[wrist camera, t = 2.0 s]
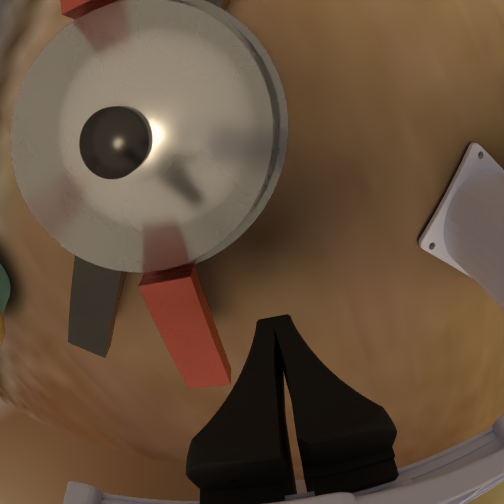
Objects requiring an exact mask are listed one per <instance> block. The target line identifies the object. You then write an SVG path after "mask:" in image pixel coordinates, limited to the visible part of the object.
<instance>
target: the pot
mask: <svg viewBox="0 0 504 504" xmlns="http://www.w3.org/2000/svg"><path fill="white" fill-rule="evenodd" d="M121 1H126V0H118V1H116V2H113V3H117V2H121ZM169 1H174V2H178V3H182V4H186V5H188V6H191V7H193V8H196V9H198V10H201V11H203V12H205V13H206V14H208V15H210V16H211V17H213V18H215V19H217V20H218V21H219V22H221V23H222V24H223V25H224V26H226V27H227V28H228V29H229V30H230V31H232V32H233V33H234V34H235V35H236V36H237V38H238V39H239V40H240V41H241V42H242V43H243V44H244V45H245V47H246V48H247V49H248V51H249V52H250V54H251V56H252V57H253V59H254V60H255V62H256V63H257V65H258V67H259V70H260V72H261V74H262V76H263V79H264V81H265V83H266V87H267V91H268V94H269V98H270V102H271V109H272V117H273V145H272V151H271V158H270V163H269V167H268V170H267V173H266V177H265V180H264V183H263V185H262V187H261V189H260V192H259V194H258V196H257V198H256V200H255V202H254V203H253V205H252V207H251V208H250V210H249V211H248V213H247V215H246V216H245V217H244V218H243V220H242V221H241V222H240V223H239V225H238V226H237V227H236V228H235V229H234V230H233V231H232V232H231V233H230V234H229V235H228V236H227V237H226V238H225V239H224V240H223V241H222V242H220V243H219V244H218V245H216V246H215V247H214V248H212V249H211V250H210V251H208V252H206V253H205V254H203V255H201V256H199V257H197V258H196V259H194V260H192V261H189V262H187V263H184V264H190V263H194V264H197V263H199V262H201V261H203V260H206V259H208V258H210V257H212V256H213V255H215V254H217V253H218V252H220V251H222V250H223V249H225V248H226V247H228V246H229V245H230V244H231V243H233V242H234V241H235V240H236V239H238V238H239V237H240V236H241V235H242V234H243V233H244V232H245V231H246V230H247V229H248V228H249V227H250V226H251V225H252V224H253V222H254V221H255V220H256V218H257V217H258V216H259V214H260V213H261V212H262V210H263V209H264V207H265V206H266V204H267V202H268V200H269V199H270V197H271V195H272V193H273V192H274V189H275V187H276V184H277V182H278V179H279V177H280V174H281V171H282V167H283V163H284V160H285V156H286V150H287V141H288V110H287V104H286V98H285V93H284V89H283V86H282V83H281V80H280V77H279V74H278V72H277V70H276V68H275V66H274V64H273V62H272V60H271V58H270V56H269V54H268V53H267V51H266V50H265V48H264V47H263V45H262V44H261V43H260V41H259V40H258V39H257V37H256V36H255V35H254V34H253V33H252V32H251V31H250V30H249V29H248V28H247V27H246V26H245V25H244V24H243V23H242V22H240V21H239V20H238V19H236V18H235V17H234V16H232V15H231V14H230V13H228V12H227V11H225V9H226V7H227V5H228V3H229V2H230V0H169ZM113 3H111V4H113ZM108 5H109V4H108ZM76 20H77V19H76ZM74 21H75V19H74V20H73V21H72V22H74ZM72 22H70V23H69V24H68V25H70V24H71V23H72ZM68 25H67V26H68ZM67 26H65V27H64V28H66V27H67ZM64 28H63V29H64ZM63 29H62V30H63ZM62 30H61V31H62ZM61 31H60V32H61ZM184 264H182V265H184ZM136 273H145V272H136ZM125 274H126V271H118V270H112V269H108V268H104V267H101V266H98V265H95V264H93V263H90V262H88V261H85V260H83V259H81V258H80V257H78V256H76V255H75V261H74V269H73V278H72V288H71V299H70V313H69V333H68V342H69V343H71V344H73V345H76V346H78V347H80V348H83V349H85V350H87V351H90V352H92V353H95V354H97V355H100V356H102V357H106V355H107V352H108V350H109V348H110V345H111V340H112V335H113V329H114V324H115V319H116V314H117V309H118V304H119V300H120V295H121V291H122V286H123V282H124V278H125Z"/></svg>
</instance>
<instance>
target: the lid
mask: <svg viewBox="0 0 504 504" xmlns="http://www.w3.org/2000/svg"><path fill="white" fill-rule="evenodd" d="M116 1H118V0H61V10H62V15H65V16H67V17H70V18H73V19H75V21H74V22H72V23H71V24H70V25H68V26H67V27H66V28H64V29H63V30H62V31H61V32H59V33H58V34H57V35H56V36H55V37H54V38H53V39H52V40H51V41H50V42H49V43H48V44H47V45H46V47H45V48H44V49H43V50H42V51H41V53H40V54H39V55H38V57H37V58H36V60H35V61H34V63H33V64H32V66H31V67H30V69H29V71H28V73H27V75H26V77H25V79H24V81H23V83H22V85H21V88H20V91H19V93H18V96H17V99H16V103H15V107H14V112H13V117H12V124H11V156H12V163H13V169H14V173H15V177H16V180H17V184H18V186H19V189H20V191H21V194H22V196H23V198H24V200H25V202H26V204H27V206H28V208H29V210H30V211H31V213H32V214H33V216H34V217H35V219H36V220H37V222H38V223H39V224H40V225H41V227H42V228H43V229H44V230H45V231H46V232H47V233H48V234H49V235H50V236H51V237H52V238H53V239H54V240H55V241H56V242H57V243H58V244H60V245H61V246H62V247H64V248H65V249H67V250H68V251H69V252H71V253H72V254H74V255H76V256H78V257H80V258H81V259H83V260H85V261H88V262H90V263H93V264H95V265H98V266H101V267H104V268H108V269H112V270H118V271H126V272H145V274H144V276H143V278H142V280H141V282H140V284H139V289H140V291H141V293H142V296H143V298H144V300H145V302H146V305H147V307H148V309H149V311H150V313H151V315H152V318H153V320H154V322H155V324H156V326H157V328H158V330H159V332H160V334H161V336H162V338H163V341H164V343H165V345H166V347H167V349H168V351H169V352H170V354H171V356H172V358H173V360H174V362H175V364H176V366H177V368H178V370H179V372H180V374H181V375H182V377H183V379H184V381H185V383H186V385H187V386H188V388H189V389H191V388H202V387H212V386H221V385H229V384H231V367H230V364H229V362H228V359H227V356H226V354H225V351H224V348H223V345H222V343H221V340H220V337H219V334H218V331H217V329H216V326H215V323H214V320H213V317H212V314H211V312H210V309H209V306H208V303H207V300H206V297H205V294H204V291H203V288H202V285H201V282H200V279H199V276H198V273H197V270H196V267H195V264H194V263H190V264H184V263H187V262H189V261H192V260H194V259H196V258H197V257H199V256H201V255H203V254H205V253H206V252H208V251H210V250H211V249H212V248H214V247H215V246H216V245H218V244H219V243H220V242H222V241H223V240H224V239H225V238H226V237H227V236H228V235H229V234H230V233H231V232H232V231H233V230H234V229H235V228H236V227H237V226H238V225H239V223H240V222H241V221H242V220H243V218H244V217H245V216H246V215H247V213H248V211H249V210H250V208H251V207H252V205H253V203H254V202H255V200H256V198H257V196H258V194H259V192H260V189H261V187H262V185H263V183H264V180H265V177H266V173H267V170H268V167H269V163H270V158H271V151H272V145H273V117H272V109H271V102H270V98H269V94H268V91H267V87H266V83H265V81H264V79H263V76H262V74H261V72H260V70H259V67H258V65H257V63H256V62H255V60H254V59H253V57H252V56H251V54H250V52H249V51H248V49H247V48H246V47H245V45H244V44H243V43H242V42H241V41H240V40H239V39H238V38H237V36H236V35H235V34H234V33H233V32H232V31H230V30H229V29H228V28H227V27H226V26H224V25H223V24H222V23H221V22H219V21H218V20H217V19H215V18H213V17H211V16H210V15H208V14H206V13H205V12H203V11H201V10H198V9H196V8H193V7H191V6H188V5H186V4H182V3H178V2H174V1H169V0H126V1H121V2H117V3H113V2H116ZM111 3H113V4H111ZM108 4H109V5H108ZM76 19H77V20H76ZM182 264H184V265H182Z"/></svg>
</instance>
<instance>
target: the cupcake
mask: <svg viewBox="0 0 504 504" xmlns="http://www.w3.org/2000/svg"><path fill="white" fill-rule="evenodd" d="M10 291H11V287H10V281H9V278H8V275H7V273H6V271H5V269H4V268H3V266H2V265H1V263H0V345H1V343H2V341H3V339H4V337H5V327H4V317H3V313H4V310H5V307H6V304H7V301H8V298H9V296H10Z"/></svg>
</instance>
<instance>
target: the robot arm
mask: <svg viewBox="0 0 504 504" xmlns="http://www.w3.org/2000/svg"><path fill="white" fill-rule="evenodd" d="M479 152H480V156H479V157H478V153H479ZM431 243H432V245H431V246H430V247H429V245H430V244H431ZM419 246H420V247H421V248H422V249H423V250H425V251H427V252H428V253H430V254H432V255H434V256H436V257H437V258H439V259H441V260H442V261H444V262H446V263H448V264H449V265H451V266H453V267H454V268H456V269H458V270H459V271H461V272H463V273H464V274H466V275H468V276H469V277H471V278H472V279H473V280H474V281H475V282H476V283H477V284H478V285H479V286H480V287H481V288H482V289H483V290H484V291H485V292H486V293H487V294H488V295H489V296H490V297H491V298H492V299H493V300H494V301H495V302H496V303H497V305H498V306H499V307H500V308H501V309H502V310H503V311H504V170H503V169H502V168H501V166H500V165H499V164H498V163H497V162H496V161H495V160H494V159H493V158H492V157H491V156H490V155H489V154H488V153H487V152H486V151H485V150H484V149H483V148H482V147H481V146H480V145H479V144H477V143H471V144H470V145H469V147H468V149H467V151H466V153H465V155H464V158H463V160H462V162H461V164H460V166H459V168H458V170H457V172H456V174H455V176H454V178H453V180H452V182H451V184H450V186H449V188H448V189H447V191H446V193H445V195H444V197H443V199H442V201H441V202H440V204H439V206H438V208H437V210H436V211H435V213H434V215H433V217H432V219H431V220H430V222H429V224H428V225H427V227H426V229H425V231H424V232H423V234H422V236H421V237H420V239H419ZM283 371H284V375H285V379H286V382H287V386H288V390H289V393H290V397H291V401H292V408H293V414H294V421H295V428H296V436H297V441H298V446H299V451H300V456H301V461H302V467H303V473H304V480H305V484H306V488H307V493H300V494H297V491H296V484H295V477H294V471H293V464H292V458H291V451H290V444H289V438H288V431H287V424H286V415H285V395H284V375H283ZM396 435H397V430H396V427H395V425H394V423H393V421H392V420H391V418H390V417H389V415H388V414H387V412H386V411H385V409H384V408H383V407H382V406H380V405H378V404H376V403H374V402H372V401H371V400H369V399H367V398H366V397H364V396H362V395H361V394H359V393H358V392H356V391H355V390H354V389H352V388H351V387H350V386H348V385H347V384H346V383H344V382H343V381H342V380H340V379H339V378H338V377H337V376H336V375H335V374H334V373H332V372H331V371H330V370H329V369H328V368H327V367H326V366H325V365H324V364H323V363H322V362H321V361H320V360H319V358H318V357H317V356H316V355H315V354H314V353H313V351H312V350H311V349H310V348H309V346H308V345H307V344H306V342H305V341H304V340H303V338H302V337H301V335H300V334H299V332H298V331H297V329H296V327H295V326H294V324H293V322H292V319H291V317H290V316H289V315H288V314H286V315H281V316H276V317H271V318H265V319H260V320H258V321H257V325H256V331H255V335H254V339H253V343H252V346H251V349H250V352H249V355H248V358H247V360H246V362H245V365H244V367H243V369H242V372H241V374H240V376H239V378H238V380H237V382H236V384H235V385H234V387H233V389H232V391H231V392H230V394H229V395H228V397H227V399H226V400H225V402H224V403H223V405H222V406H221V407H220V409H219V410H218V411H217V412H216V414H215V415H214V416H213V417H212V419H211V420H210V421H209V422H208V423H207V425H206V426H205V427H204V428H203V429H202V430H201V431H200V432H199V433H198V434H197V435H196V436H195V437H194V438H193V439H192V441H191V444H190V447H189V451H188V455H187V464H186V476H187V477H188V478H189V479H190V480H191V481H192V482H193V483H194V484H195V485H196V486H197V487H198V488H200V501H198V502H197V501H168V500H155V499H143V498H134V497H126V496H119V495H112V494H107V493H102V492H101V491H100V490H98V489H97V488H96V487H93V486H91V485H87V484H83V483H78V482H74V481H69V482H68V486H67V490H66V494H65V498H64V502H63V504H466V503H468V502H469V501H471V500H473V499H475V498H476V497H478V496H480V495H481V494H483V493H485V492H486V491H488V490H490V489H491V488H493V487H494V486H496V485H497V484H499V483H501V482H502V481H504V414H502V415H501V416H500V417H499V418H498V419H497V420H496V421H495V422H494V424H493V426H492V427H491V428H489V429H487V430H485V431H483V432H482V433H480V434H478V435H476V436H474V437H472V438H470V439H468V440H466V441H464V442H462V443H460V444H458V445H456V446H454V447H452V448H449V449H447V450H445V451H443V452H440V453H438V454H436V455H433V456H431V457H428V458H426V459H424V460H421V461H418V462H416V463H413V464H410V465H408V466H405V467H402V468H399V469H397V467H396V464H395V461H394V457H395V454H394V451H393V448H392V446H393V444H394V441H395V438H396Z"/></svg>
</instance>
